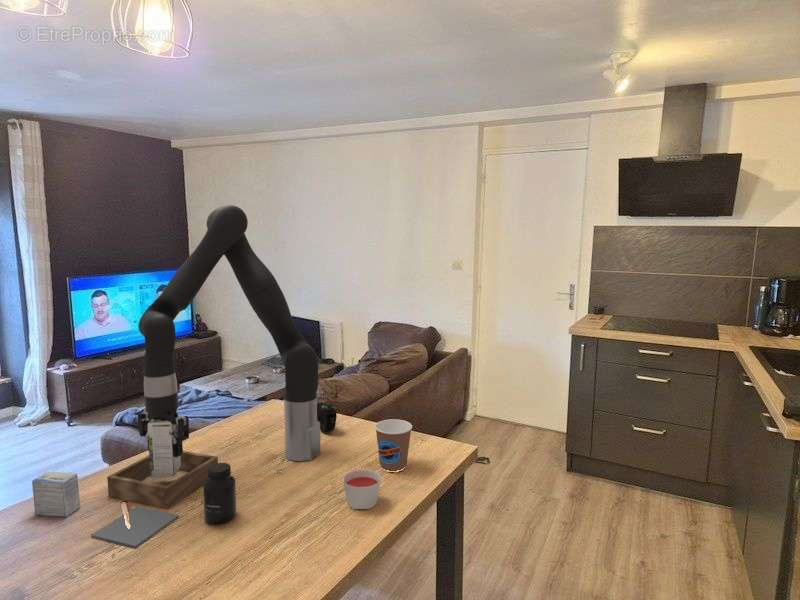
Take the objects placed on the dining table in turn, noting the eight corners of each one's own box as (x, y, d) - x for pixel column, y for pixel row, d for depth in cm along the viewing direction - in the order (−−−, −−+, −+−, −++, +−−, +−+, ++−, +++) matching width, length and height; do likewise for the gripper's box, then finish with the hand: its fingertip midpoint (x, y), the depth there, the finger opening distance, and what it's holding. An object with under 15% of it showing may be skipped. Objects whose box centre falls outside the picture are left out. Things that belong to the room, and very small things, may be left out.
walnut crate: (218, 474, 133) (217, 456, 132) (167, 508, 116) (166, 488, 115) (164, 464, 138) (163, 447, 138) (108, 496, 121) (107, 476, 121)
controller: (326, 438, 157) (326, 407, 156) (311, 425, 168) (311, 397, 166) (339, 435, 160) (338, 405, 158) (323, 423, 170) (323, 395, 169)
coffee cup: (368, 472, 135) (368, 429, 133) (383, 456, 144) (383, 417, 143) (403, 479, 131) (404, 435, 129) (417, 463, 140) (417, 422, 139)
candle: (364, 489, 125) (364, 465, 124) (388, 503, 119) (388, 478, 118) (335, 502, 119) (335, 477, 118) (359, 517, 112) (359, 491, 112)
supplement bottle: (206, 529, 108) (204, 476, 106) (202, 513, 114) (200, 464, 112) (239, 521, 111) (237, 470, 109) (234, 506, 117) (232, 458, 116)
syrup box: (159, 467, 129) (155, 414, 127) (182, 466, 130) (179, 413, 128) (150, 478, 124) (146, 422, 122) (174, 477, 124) (170, 421, 122)
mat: (178, 517, 112) (178, 515, 112) (135, 548, 101) (135, 545, 101) (137, 508, 116) (137, 506, 116) (91, 537, 105) (90, 534, 105)
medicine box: (81, 507, 116) (78, 472, 115) (66, 518, 112) (63, 481, 111) (50, 505, 117) (47, 470, 116) (34, 516, 113) (31, 480, 112)
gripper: (195, 389, 125) (199, 451, 127) (150, 384, 130) (154, 444, 132) (173, 398, 118) (177, 464, 120) (126, 393, 123) (131, 456, 125)
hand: (165, 454), depth 126 cm, fingers closed on syrup box, 7 cm apart
